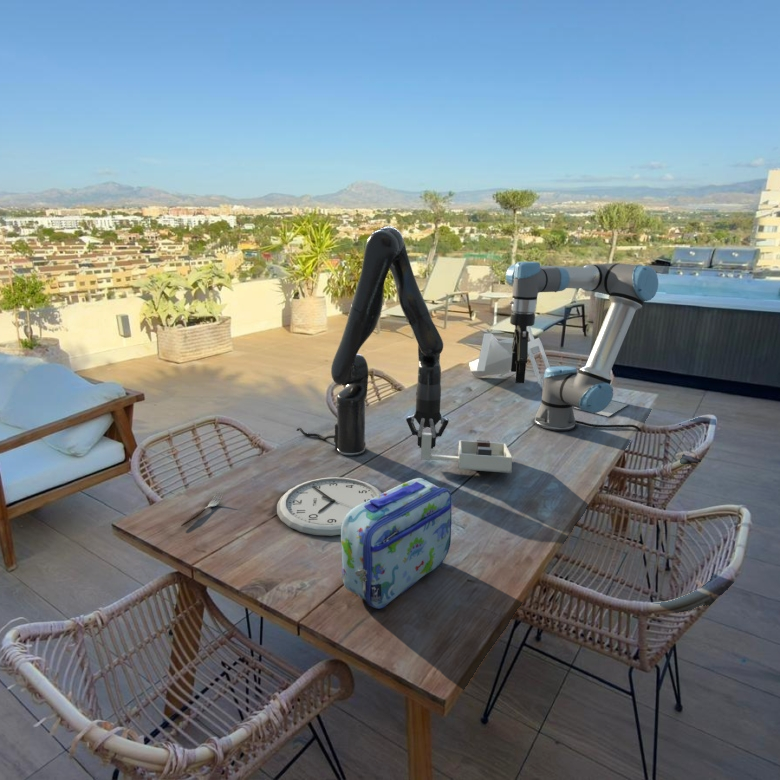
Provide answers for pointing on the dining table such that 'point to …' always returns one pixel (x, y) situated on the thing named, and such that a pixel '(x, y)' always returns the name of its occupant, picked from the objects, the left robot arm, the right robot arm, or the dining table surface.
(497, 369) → the white plastic object
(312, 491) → the wall clock
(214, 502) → the fork
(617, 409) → the invitation card
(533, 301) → the right robot arm
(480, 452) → the charcoal block
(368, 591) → the lunch box
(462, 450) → the tray
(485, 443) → the walnut block
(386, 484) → the dining table surface
